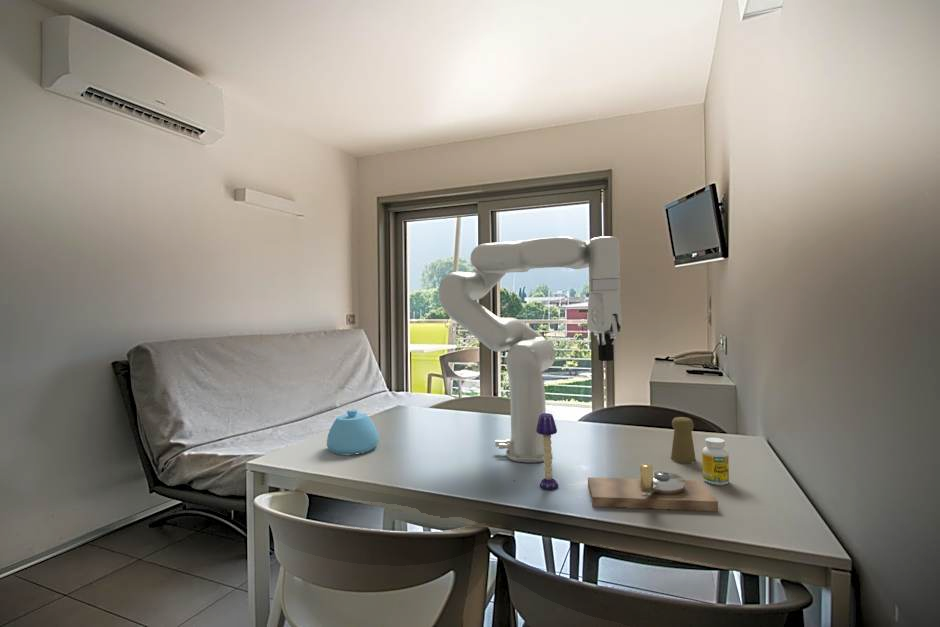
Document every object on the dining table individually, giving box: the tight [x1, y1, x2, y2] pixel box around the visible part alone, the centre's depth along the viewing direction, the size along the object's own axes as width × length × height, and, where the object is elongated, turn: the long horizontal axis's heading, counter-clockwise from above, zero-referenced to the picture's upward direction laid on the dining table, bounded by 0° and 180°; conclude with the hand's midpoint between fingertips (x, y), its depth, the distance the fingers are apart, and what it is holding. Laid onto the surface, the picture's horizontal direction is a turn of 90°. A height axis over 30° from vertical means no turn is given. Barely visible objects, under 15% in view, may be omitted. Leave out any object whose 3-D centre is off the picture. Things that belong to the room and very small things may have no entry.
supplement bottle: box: [701, 437, 730, 486], centre depth 110 cm, size 5×5×10 cm
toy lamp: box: [536, 412, 559, 491], centre depth 109 cm, size 5×5×17 cm
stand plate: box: [587, 476, 719, 512], centre depth 101 cm, size 24×11×2 cm, turn 81°
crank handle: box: [638, 463, 686, 495], centre depth 100 cm, size 13×9×6 cm
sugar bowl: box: [326, 409, 380, 455], centre depth 142 cm, size 15×15×12 cm
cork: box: [670, 416, 697, 464], centre depth 125 cm, size 6×6×11 cm
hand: (606, 360), depth 120 cm, fingers closed
